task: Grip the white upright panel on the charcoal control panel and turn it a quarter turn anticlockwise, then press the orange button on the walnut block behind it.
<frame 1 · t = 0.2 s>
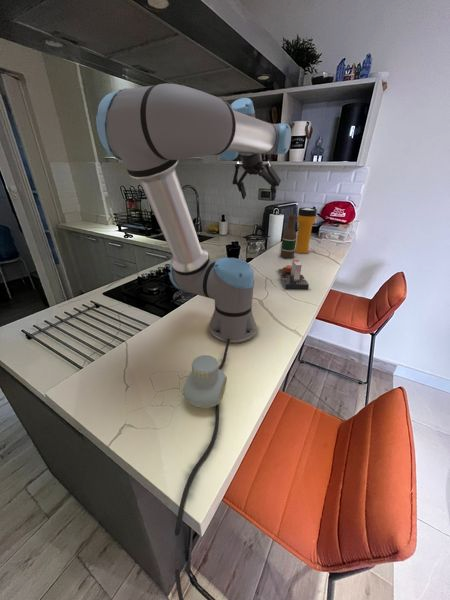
hand: (258, 197, 111), 35 cm above the table, tool tilted 35°, fingers open, 13 cm apart
control panel: (293, 284, 117), on the table
start button: (289, 268, 125), point 3 cm above the table, slide at 0.1 cm
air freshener: (206, 395, 61), on the table
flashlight: (301, 251, 160), on the table
button block: (288, 274, 127), on the table
white upright panel: (295, 270, 114), point 7 cm above the table, hinge at 0.0°
beer bottle: (286, 257, 151), on the table
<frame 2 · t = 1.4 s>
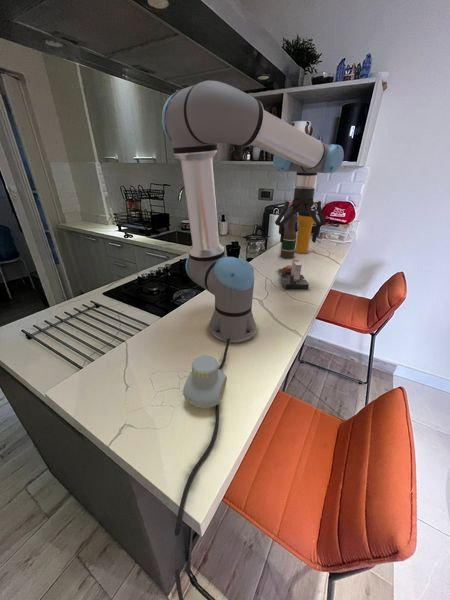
hand: (297, 241, 109), 20 cm above the table, tool pointing down, fingers open, 13 cm apart
nothing on the table moved.
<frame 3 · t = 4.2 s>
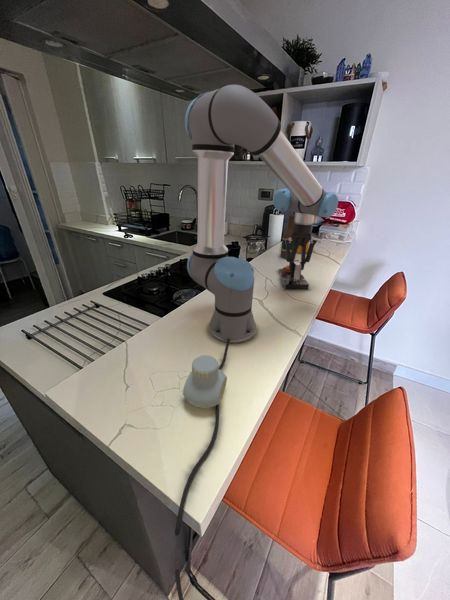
hand: (294, 276, 115), 4 cm above the table, tool pointing down, fingers closed on white upright panel, 2 cm apart
white upright panel: (295, 270, 114), point 7 cm above the table, hinge at 0.0°, touching gripper
everything else where it was.
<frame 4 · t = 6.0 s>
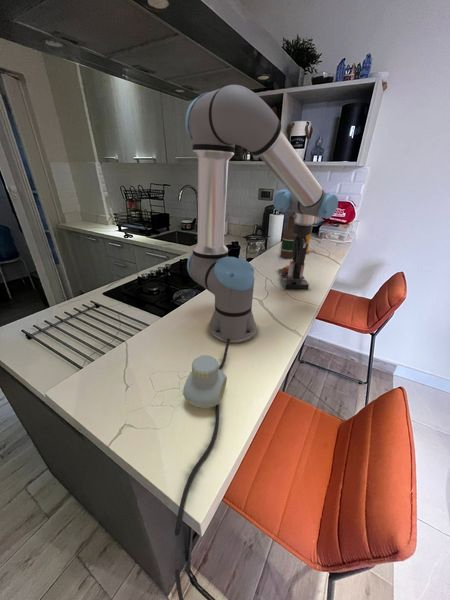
hand: (294, 276, 116), 4 cm above the table, tool pointing down, fingers open, 4 cm apart
white upright panel: (295, 270, 114), point 7 cm above the table, hinge at 89.8°
everything else where it was.
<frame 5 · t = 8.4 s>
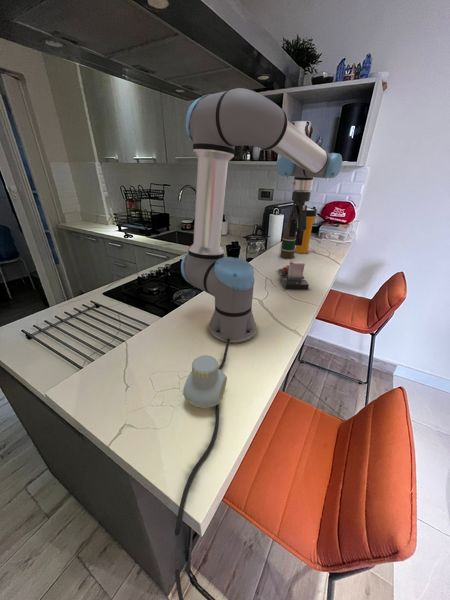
hand: (294, 240, 118), 17 cm above the table, tool pointing down, fingers open, 13 cm apart
nothing on the table moved.
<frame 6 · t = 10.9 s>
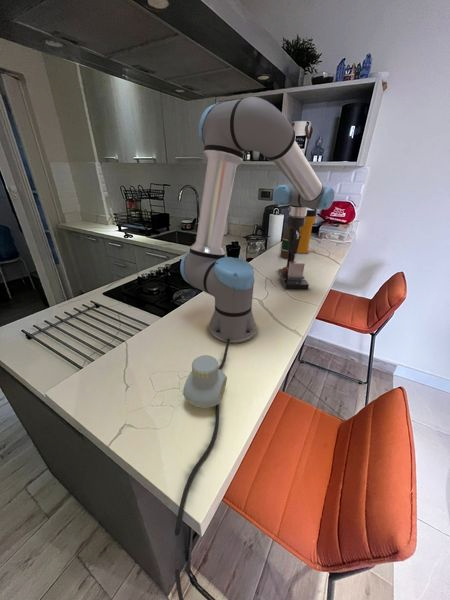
hand: (289, 266, 125), 5 cm above the table, tool pointing down, fingers closed
start button: (289, 268, 125), point 3 cm above the table, slide at 0.1 cm, touching gripper
everything else where it was.
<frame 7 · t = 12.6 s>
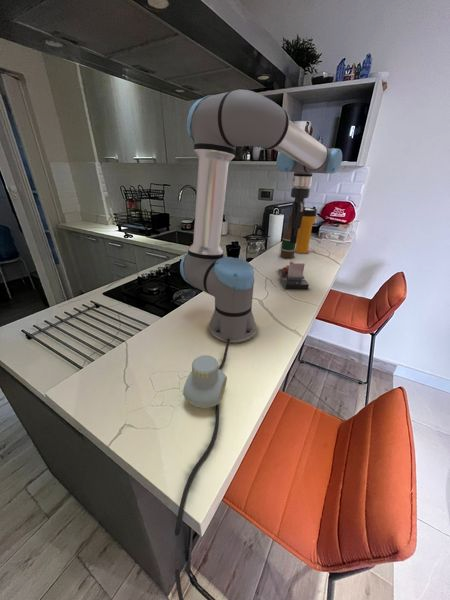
hand: (292, 242, 119), 16 cm above the table, tool pointing down, fingers closed
start button: (289, 268, 125), point 3 cm above the table, slide at 0.1 cm
everything else where it was.
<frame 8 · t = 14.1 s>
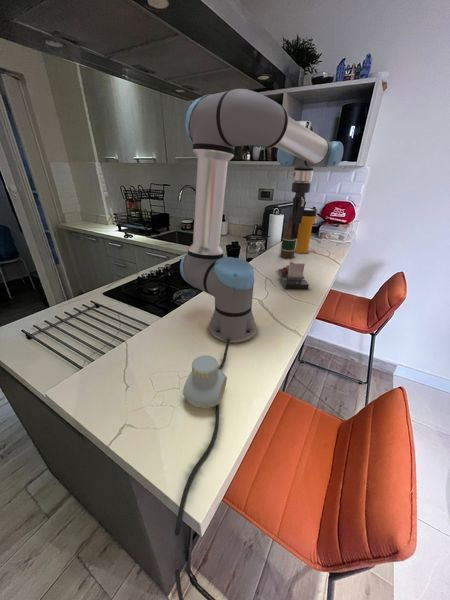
hand: (293, 238, 118), 18 cm above the table, tool pointing down, fingers closed
nothing on the table moved.
at the end: white upright panel at +90° (first picture: +0°); start button pushed in 1.0 cm at the most during the clip, back to where it started at the end; start button slide at 0.1 cm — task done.
